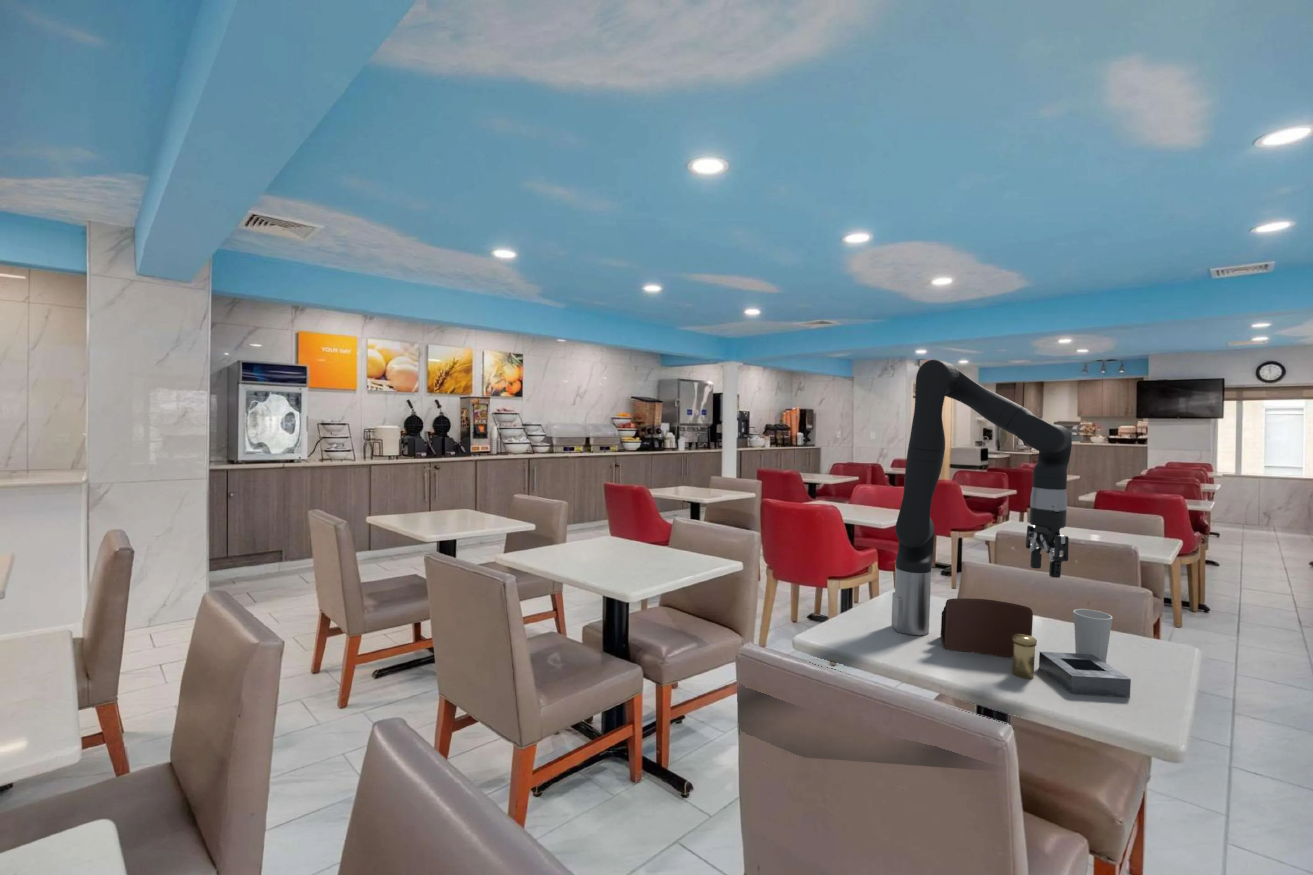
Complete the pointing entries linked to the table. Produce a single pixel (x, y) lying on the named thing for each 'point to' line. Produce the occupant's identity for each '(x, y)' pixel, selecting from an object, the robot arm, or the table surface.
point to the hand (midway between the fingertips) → (1044, 572)
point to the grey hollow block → (1084, 674)
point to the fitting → (1023, 656)
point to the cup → (1092, 632)
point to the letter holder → (983, 625)
